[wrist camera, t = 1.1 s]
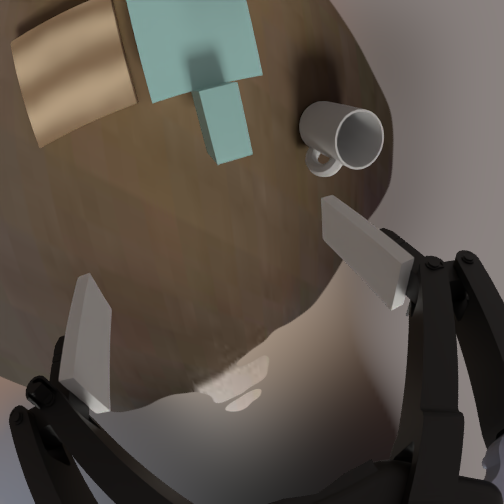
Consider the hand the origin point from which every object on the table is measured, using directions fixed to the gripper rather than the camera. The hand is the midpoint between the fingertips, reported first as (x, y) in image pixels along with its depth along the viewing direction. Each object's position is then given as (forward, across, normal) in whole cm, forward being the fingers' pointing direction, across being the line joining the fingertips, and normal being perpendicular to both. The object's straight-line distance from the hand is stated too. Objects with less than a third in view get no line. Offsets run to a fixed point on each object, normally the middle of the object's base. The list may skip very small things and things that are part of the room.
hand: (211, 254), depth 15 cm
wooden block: (+22, -9, +15) cm, 28 cm away
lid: (+17, +4, +12) cm, 21 cm away
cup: (+23, +19, -1) cm, 29 cm away
